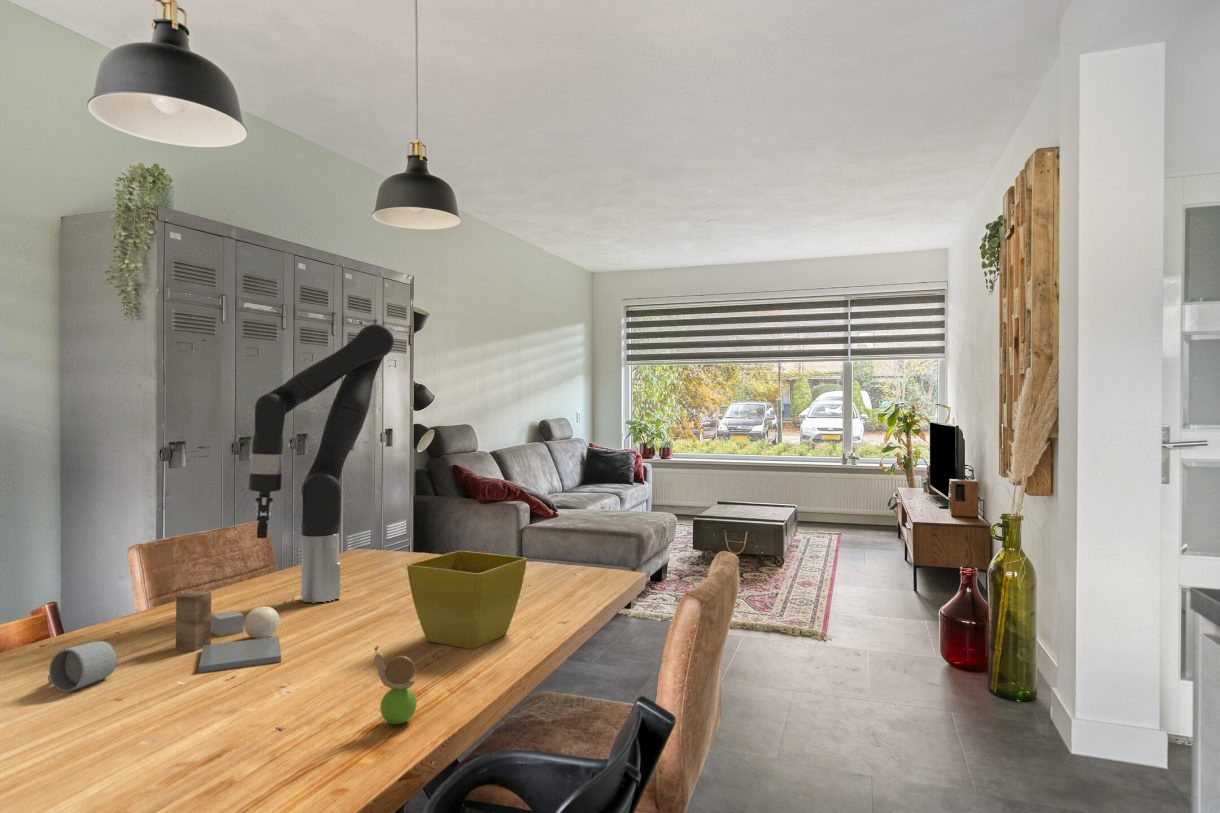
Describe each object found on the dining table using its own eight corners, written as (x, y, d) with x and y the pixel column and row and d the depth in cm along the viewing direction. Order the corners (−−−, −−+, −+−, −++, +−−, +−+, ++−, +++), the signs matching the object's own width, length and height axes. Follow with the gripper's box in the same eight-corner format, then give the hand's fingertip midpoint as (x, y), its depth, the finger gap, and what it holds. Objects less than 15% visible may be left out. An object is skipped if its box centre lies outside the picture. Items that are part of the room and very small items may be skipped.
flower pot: (528, 632, 162) (528, 556, 162) (478, 657, 144) (479, 573, 145) (459, 621, 170) (459, 550, 170) (404, 644, 152) (404, 564, 153)
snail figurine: (378, 716, 116) (378, 641, 116) (419, 715, 116) (419, 640, 116) (369, 731, 110) (370, 652, 110) (412, 729, 111) (413, 650, 111)
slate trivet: (278, 642, 154) (278, 636, 154) (281, 661, 141) (281, 655, 141) (203, 651, 148) (203, 645, 148) (198, 672, 135) (198, 666, 135)
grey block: (235, 628, 165) (235, 610, 165) (243, 632, 161) (243, 614, 161) (211, 632, 161) (211, 614, 161) (219, 637, 158) (219, 619, 158)
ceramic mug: (121, 677, 133) (121, 637, 133) (82, 693, 125) (82, 650, 125) (74, 675, 135) (74, 635, 135) (33, 690, 127) (33, 648, 127)
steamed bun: (286, 633, 160) (286, 603, 160) (267, 643, 153) (268, 611, 153) (257, 632, 161) (257, 602, 161) (237, 642, 154) (238, 610, 154)
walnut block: (191, 643, 153) (192, 591, 153) (210, 644, 152) (211, 592, 152) (175, 650, 149) (176, 596, 149) (195, 651, 148) (196, 597, 148)
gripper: (282, 473, 180) (278, 539, 179) (281, 470, 193) (277, 532, 192) (248, 473, 176) (244, 540, 176) (250, 470, 189) (246, 532, 189)
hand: (261, 535), depth 184 cm, fingers open, 8 cm apart
